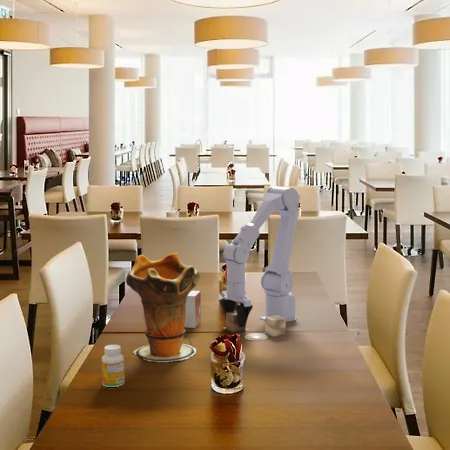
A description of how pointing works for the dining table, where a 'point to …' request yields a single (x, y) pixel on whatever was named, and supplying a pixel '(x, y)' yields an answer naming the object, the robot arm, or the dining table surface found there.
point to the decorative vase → (163, 305)
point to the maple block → (275, 325)
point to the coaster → (256, 336)
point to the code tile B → (274, 336)
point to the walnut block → (233, 321)
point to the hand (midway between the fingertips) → (235, 323)
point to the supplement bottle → (112, 366)
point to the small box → (193, 309)
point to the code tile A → (235, 331)
